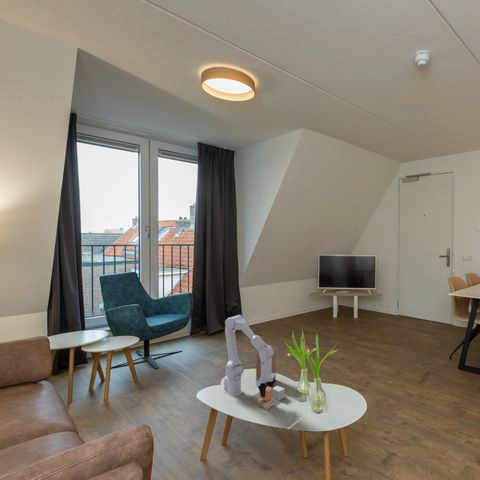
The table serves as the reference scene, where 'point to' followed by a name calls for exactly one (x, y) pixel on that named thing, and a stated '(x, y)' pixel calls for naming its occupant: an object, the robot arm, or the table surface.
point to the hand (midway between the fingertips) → (265, 394)
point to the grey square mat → (255, 398)
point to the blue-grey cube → (278, 393)
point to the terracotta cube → (267, 393)
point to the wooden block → (258, 365)
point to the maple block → (266, 403)
